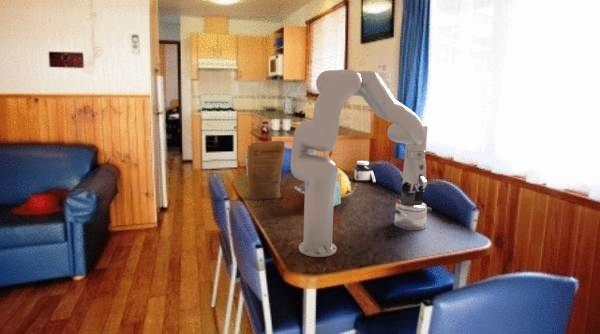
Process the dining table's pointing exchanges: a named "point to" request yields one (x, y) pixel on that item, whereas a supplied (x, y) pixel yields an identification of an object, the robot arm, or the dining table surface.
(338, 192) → the snack box
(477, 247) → the dining table surface
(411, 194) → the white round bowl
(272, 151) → the pancake mix bag
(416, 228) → the pot
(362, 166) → the spread jar
